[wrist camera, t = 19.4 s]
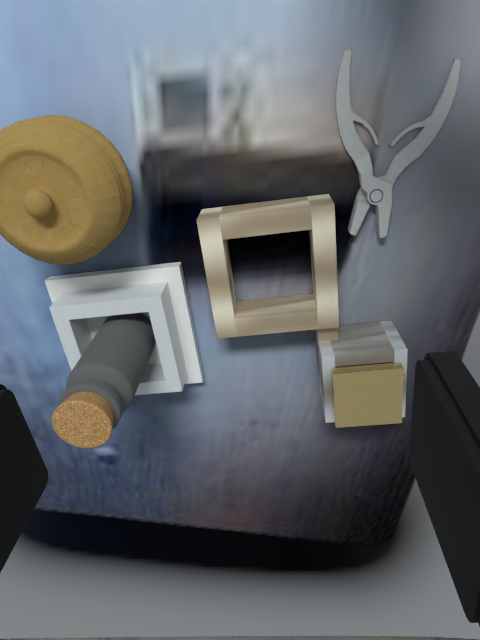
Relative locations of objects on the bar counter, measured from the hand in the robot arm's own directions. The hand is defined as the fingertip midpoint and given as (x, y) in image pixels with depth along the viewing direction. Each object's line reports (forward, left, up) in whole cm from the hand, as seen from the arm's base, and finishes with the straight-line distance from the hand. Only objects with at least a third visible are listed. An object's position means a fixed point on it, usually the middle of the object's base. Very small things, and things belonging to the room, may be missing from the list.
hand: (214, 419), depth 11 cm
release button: (+21, +9, -34) cm, 41 cm away
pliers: (0, +12, -36) cm, 38 cm away
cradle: (+15, -15, -35) cm, 41 cm away
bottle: (+15, -15, -34) cm, 40 cm away
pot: (-1, -16, -36) cm, 39 cm away
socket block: (+14, +4, -35) cm, 38 cm away
